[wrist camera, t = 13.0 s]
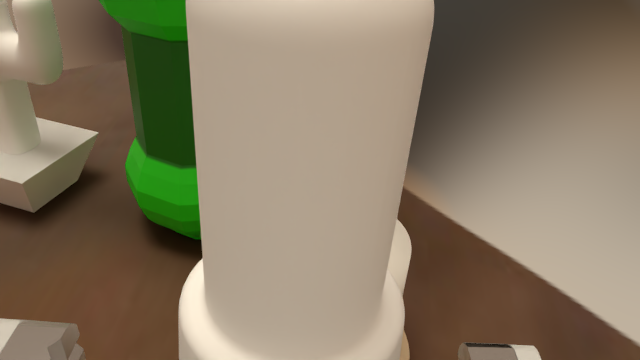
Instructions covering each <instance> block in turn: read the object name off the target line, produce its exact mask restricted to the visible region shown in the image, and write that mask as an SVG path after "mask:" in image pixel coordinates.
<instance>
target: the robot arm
mask: <svg viewBox="0 0 640 360" xmlns="http://www.w3.org/2000/svg"><path fill="white" fill-rule="evenodd" d="M79 335H80V334H79V331H78V328H77V325H76V324H71V323H58V322H45V321H32V320H16V319H0V360H86V357H85V353H84V349H83V348H81V347H80V346H79V345H78V344H77V343H76V342H77V340H78V337H79ZM458 358H459V360H541V357H540V355H539V353H538V350H537V349H536V348H535V347H534V346H526V345H508V344H490V343H462V344H461V345H460V348H459V351H458Z"/></svg>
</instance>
